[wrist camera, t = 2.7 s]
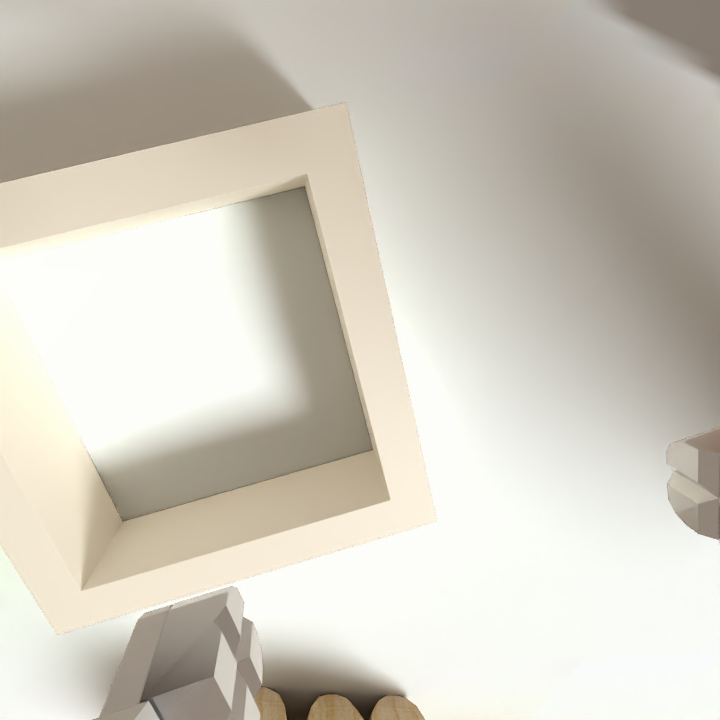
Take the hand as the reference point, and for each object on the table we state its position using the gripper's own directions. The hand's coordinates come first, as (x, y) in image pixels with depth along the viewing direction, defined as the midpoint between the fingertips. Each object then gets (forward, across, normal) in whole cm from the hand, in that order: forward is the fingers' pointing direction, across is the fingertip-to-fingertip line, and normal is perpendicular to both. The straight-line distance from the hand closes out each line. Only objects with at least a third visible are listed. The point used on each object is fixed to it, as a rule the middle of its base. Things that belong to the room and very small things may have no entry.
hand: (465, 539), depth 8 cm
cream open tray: (+17, +8, 0) cm, 18 cm away
